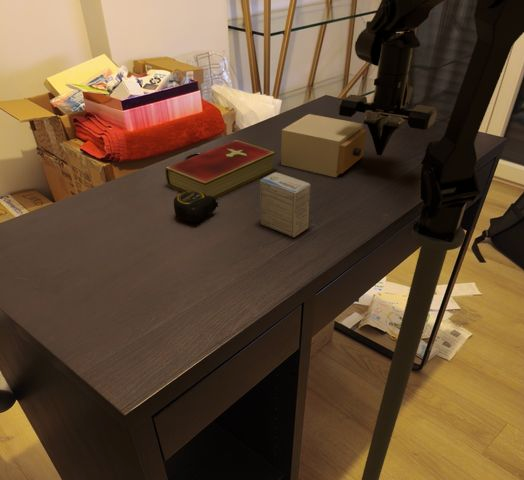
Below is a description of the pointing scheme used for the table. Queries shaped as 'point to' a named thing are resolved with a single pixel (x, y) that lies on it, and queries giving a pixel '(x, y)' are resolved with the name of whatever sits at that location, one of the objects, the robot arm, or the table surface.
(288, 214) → the medicine box
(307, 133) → the cabinet
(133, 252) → the table surface
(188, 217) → the tape measure
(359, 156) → the drawer
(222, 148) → the hardcover book
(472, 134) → the robot arm
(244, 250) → the table surface
